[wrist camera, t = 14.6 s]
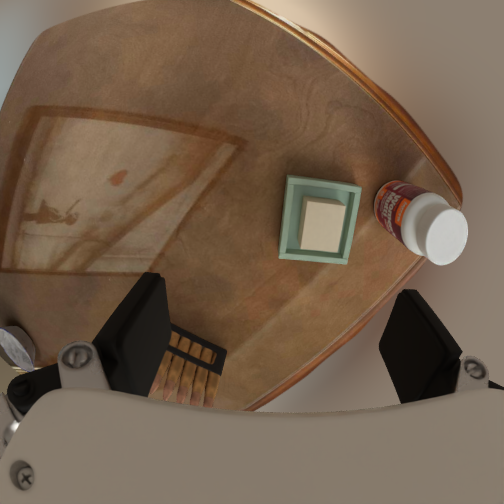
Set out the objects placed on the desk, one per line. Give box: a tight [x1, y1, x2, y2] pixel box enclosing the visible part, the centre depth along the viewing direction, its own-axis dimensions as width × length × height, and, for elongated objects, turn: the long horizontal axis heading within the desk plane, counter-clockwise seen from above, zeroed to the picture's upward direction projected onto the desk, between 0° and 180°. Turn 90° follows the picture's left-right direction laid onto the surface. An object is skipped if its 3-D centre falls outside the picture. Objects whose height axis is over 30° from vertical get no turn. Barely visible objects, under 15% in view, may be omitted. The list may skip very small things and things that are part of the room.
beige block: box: [297, 195, 346, 252], centre depth 28 cm, size 5×4×3 cm
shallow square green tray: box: [278, 175, 362, 264], centre depth 29 cm, size 9×8×2 cm
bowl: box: [0, 326, 35, 372], centre depth 41 cm, size 13×13×5 cm
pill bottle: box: [374, 180, 468, 265], centre depth 23 cm, size 6×6×11 cm
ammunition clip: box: [150, 323, 227, 408], centre depth 32 cm, size 11×2×12 cm, turn 60°
